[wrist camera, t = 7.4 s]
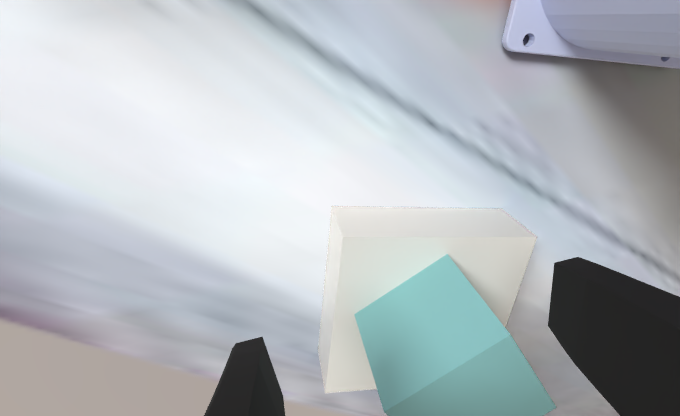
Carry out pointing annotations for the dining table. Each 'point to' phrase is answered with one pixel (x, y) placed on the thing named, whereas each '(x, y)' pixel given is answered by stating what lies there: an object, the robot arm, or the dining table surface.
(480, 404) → the teal block
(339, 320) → the stone plinth
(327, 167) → the dining table surface
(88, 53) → the dining table surface
